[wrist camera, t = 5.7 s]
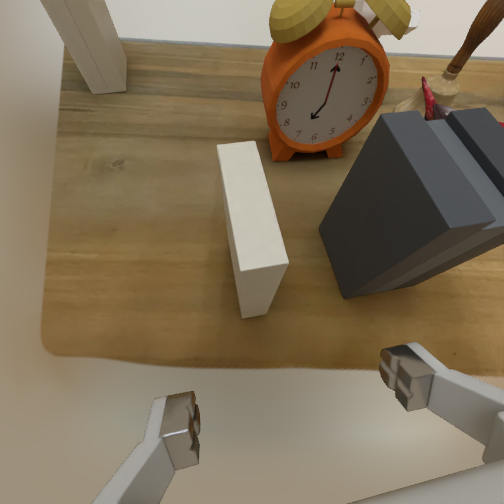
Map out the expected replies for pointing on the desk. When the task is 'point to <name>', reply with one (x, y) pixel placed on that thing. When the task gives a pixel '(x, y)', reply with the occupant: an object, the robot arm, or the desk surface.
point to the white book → (251, 228)
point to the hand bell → (457, 60)
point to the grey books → (417, 201)
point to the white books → (91, 42)
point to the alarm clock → (325, 72)
